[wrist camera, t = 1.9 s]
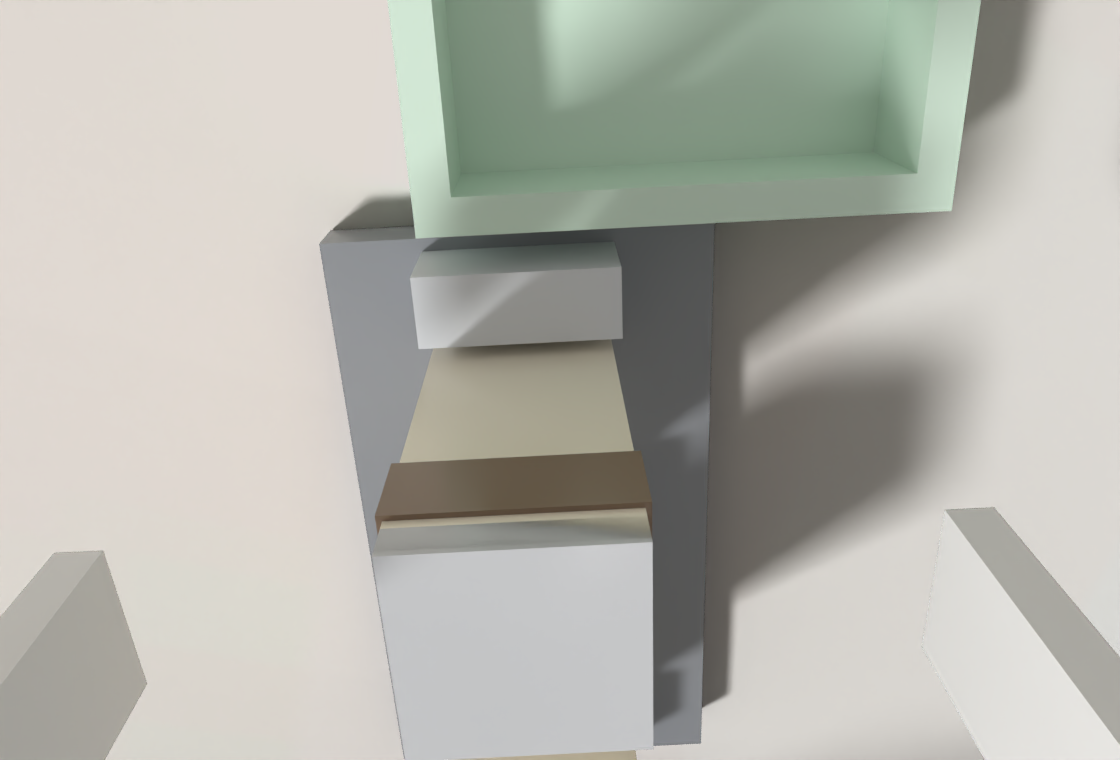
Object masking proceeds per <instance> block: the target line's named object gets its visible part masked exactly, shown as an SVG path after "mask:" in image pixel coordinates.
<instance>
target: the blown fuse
mask: <svg viewBox="0 0 1120 760" xmlns="http://www.w3.org/2000/svg"><path fill="white" fill-rule="evenodd" d="M375 522H376V528H377V534H378V537H377V540H376V544H375V547H374V550H373V554H372V562H373V568H374V574H375V580H376V586H377V592H378V598H379V605H380V611H381V617H382V623H383V629H384V635H385V641H386V647H387V653H388V659H389V665H390V671H391V678H392V684H393V690H394V696H395V702H396V708H397V714H398V720H399V726H400V732H401V738H402V744H403V751H404V757H405V760H456V759H475V758H494V757H514V756H533V755H552V754H572V753H591V752H610V751H630V750H649V749H653V542H652V499H651V494H650V490H649V485H648V481H647V476H646V471H645V467H644V462H643V458H642V453H641V451H634V449H633V444H632V439H631V434H630V429H629V424H628V419H627V414H626V409H625V404H624V400H623V395H622V390H621V385H620V380H619V375H618V370H617V365H616V360H615V356H614V351H613V346H612V341H611V339H607V340H587V341H568V342H549V343H529V344H510V345H490V346H471V347H452V348H433V351H432V355H431V358H430V361H429V365H428V368H427V371H426V375H425V378H424V382H423V385H422V388H421V392H420V395H419V398H418V402H417V405H416V409H415V412H414V415H413V419H412V422H411V425H410V429H409V432H408V436H407V439H406V442H405V446H404V449H403V453H402V456H401V459H400V463H391V465H390V469H389V472H388V475H387V478H386V481H385V485H384V488H383V491H382V494H381V497H380V501H379V504H378V507H377V510H376V513H375Z"/></svg>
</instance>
